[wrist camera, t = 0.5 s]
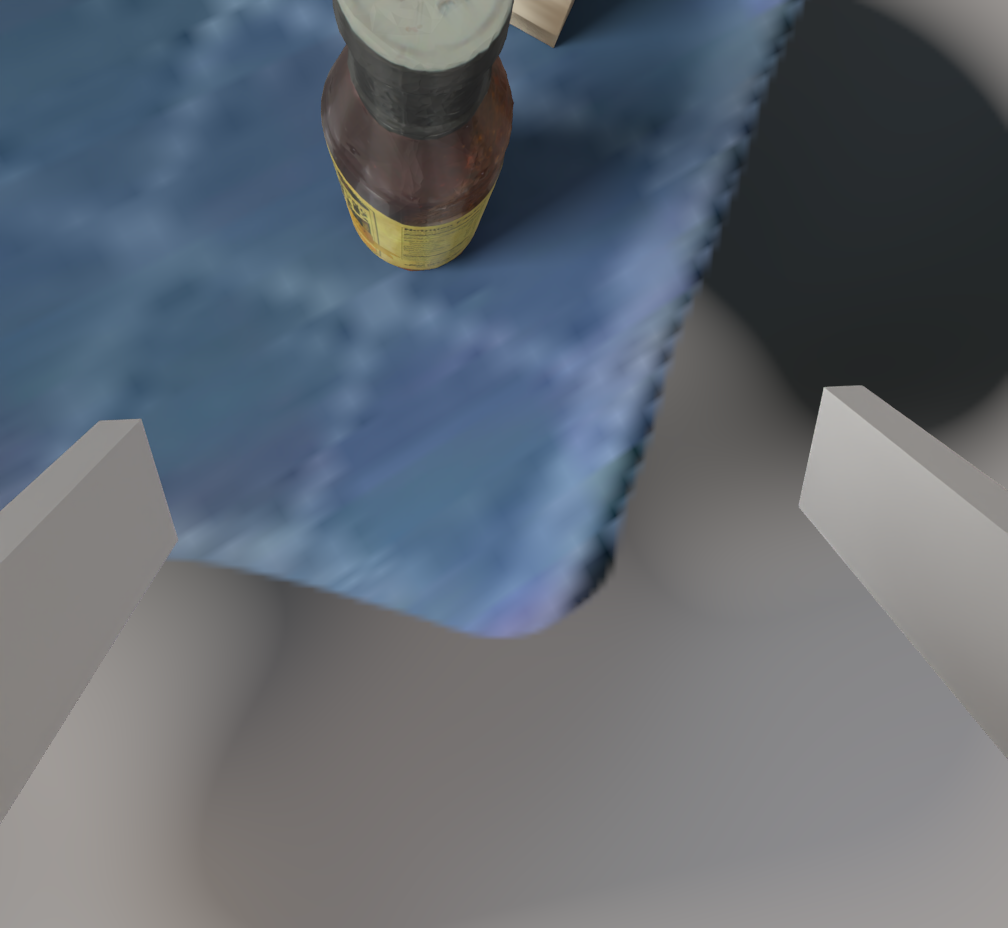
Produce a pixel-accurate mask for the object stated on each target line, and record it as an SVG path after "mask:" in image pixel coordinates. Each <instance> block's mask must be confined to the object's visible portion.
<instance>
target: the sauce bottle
mask: <svg viewBox="0 0 1008 928" xmlns="http://www.w3.org/2000/svg"><path fill="white" fill-rule="evenodd" d="M513 4H514V0H333V9H334V13H335V18H336V22H337V25H338V29H339V32H340V34H341V35H342V37H343V39H344V41H345V42H346V46H345V47H344V49H343V51H342V52H341V54H340V55H339V57H338V59H337V60H336V62H335V63H334V65H333V66H332V68H331V70H330V72H329V74H328V77H327V79H326V81H325V85H324V90H323V94H322V100H321V117H322V126H323V131H324V135H325V139H326V143H327V146H328V149H329V152H330V155H331V158H332V161H333V164H334V167H335V170H336V173H337V176H338V179H339V182H340V185H341V188H342V192H343V194H344V197H345V200H346V203H347V206H348V209H349V212H350V215H351V218H352V221H353V224H354V226H355V229H356V231H357V232H358V234H359V236H360V237H361V239H362V240H363V242H364V243H365V244H366V245H367V246H368V248H369V249H370V250H371V251H373V252H374V253H375V254H376V255H377V256H378V257H380V258H381V259H383V260H384V261H386V262H388V263H390V264H393V265H395V266H398V267H400V268H403V269H406V270H409V271H419V270H426V269H427V270H429V269H432V268H437V267H439V266H441V265H444V264H446V263H448V262H449V261H451V260H453V259H454V258H456V257H457V256H458V255H460V254H461V253H462V252H463V250H464V249H465V248H466V246H467V245H468V244H469V242H470V241H471V239H472V238H473V236H474V233H475V231H476V229H477V227H478V224H479V222H480V220H481V217H482V215H483V213H484V210H485V208H486V205H487V203H488V201H489V198H490V196H491V193H492V191H493V189H494V186H495V184H496V181H497V179H498V176H499V174H500V171H501V168H502V165H503V160H504V154H505V151H506V148H507V147H508V143H509V139H510V134H511V130H512V118H513V104H514V102H513V99H512V95H511V89H510V86H509V83H508V79H507V74H506V71H505V69H504V67H503V65H502V62H501V60H500V58H499V54H500V52H501V50H502V48H503V45H504V42H505V40H506V37H507V31H508V27H509V24H510V19H511V15H512V9H513Z"/></svg>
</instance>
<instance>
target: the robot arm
mask: <svg viewBox="0 0 1008 928" xmlns="http://www.w3.org/2000/svg"><path fill="white" fill-rule="evenodd" d="M799 508H800V509H801V510H802V511H803V513H804V514H805V515H806V516H807V517H808V519H809V520H810V521H811V522H812V523H813V525H814V526H815V527H816V528H817V530H818V531H819V532H820V533H821V534H822V535H823V537H824V538H825V539H826V540H827V542H828V543H829V544H830V545H831V546H832V548H833V549H834V550H835V551H836V553H837V554H838V555H839V556H840V557H841V559H842V560H843V561H844V562H845V563H846V565H847V566H848V567H849V568H850V569H851V571H852V572H853V573H854V574H855V575H856V577H857V578H858V579H859V580H860V581H861V583H862V584H863V585H864V586H865V588H866V589H867V590H868V591H869V592H870V594H871V595H872V596H873V597H874V598H875V600H876V601H877V602H878V603H879V604H880V606H881V607H882V608H883V609H884V611H885V612H886V613H887V614H888V615H889V616H890V618H891V619H892V620H893V621H894V623H895V624H896V625H897V626H898V627H899V629H900V630H901V631H902V632H903V633H904V635H905V636H906V637H907V638H908V640H909V641H910V642H911V643H912V644H913V646H914V647H915V648H916V649H917V650H918V652H919V653H920V654H921V655H922V656H923V657H924V659H925V660H926V661H927V662H928V664H929V665H930V666H931V667H932V669H933V670H934V671H935V672H936V673H937V674H938V676H939V677H940V678H941V679H942V680H943V682H944V683H945V684H946V685H947V687H948V688H949V689H950V690H951V691H952V693H953V694H954V695H955V696H956V698H957V699H958V700H959V701H960V702H961V704H962V705H963V706H964V707H965V708H966V710H967V711H968V712H969V713H970V714H971V716H972V717H973V718H974V719H975V720H976V722H977V723H978V724H979V725H980V726H981V728H982V729H983V730H984V731H985V733H986V734H987V735H988V736H989V737H990V739H991V740H992V741H993V742H994V743H995V744H996V746H997V747H998V748H999V749H1000V751H1001V752H1002V753H1003V754H1004V756H1005V757H1006V758H1007V759H1008V490H1007V489H1005V488H1004V487H1003V486H1001V485H1000V484H999V483H997V482H996V481H994V480H993V479H991V478H990V477H989V476H987V475H986V474H985V473H983V472H982V471H980V470H979V469H978V468H976V467H975V466H974V465H972V464H971V463H969V462H968V461H967V460H965V459H964V458H962V457H961V456H960V455H958V454H957V453H955V452H954V451H952V450H951V449H950V448H948V447H947V446H945V445H944V444H943V443H941V442H940V441H939V440H937V439H936V438H935V437H933V436H932V435H930V434H929V433H928V432H926V431H924V430H923V429H922V428H921V427H919V426H918V425H916V424H915V423H914V422H912V421H911V420H909V419H908V418H907V417H905V416H904V415H903V414H901V413H900V412H898V411H897V410H896V409H894V408H893V407H891V406H890V405H889V404H887V403H886V402H884V401H883V400H882V399H880V398H879V397H877V396H876V395H875V394H873V393H872V392H870V391H869V390H868V389H866V388H865V387H864V386H839V387H824V390H823V395H822V399H821V404H820V409H819V413H818V418H817V422H816V427H815V432H814V436H813V441H812V446H811V450H810V455H809V459H808V465H807V469H806V473H805V478H804V483H803V487H802V492H801V497H800V501H799ZM177 541H178V538H177V534H176V531H175V528H174V525H173V521H172V518H171V515H170V512H169V508H168V505H167V502H166V498H165V495H164V492H163V489H162V485H161V482H160V479H159V476H158V472H157V469H156V466H155V463H154V459H153V456H152V453H151V449H150V446H149V443H148V440H147V436H146V433H145V430H144V427H143V423H142V420H141V419H128V420H106V421H99V422H98V423H97V424H95V425H94V426H93V427H92V428H91V429H90V430H89V431H88V432H87V433H86V434H85V435H83V436H82V437H81V438H80V439H79V440H78V441H77V442H76V443H75V444H74V445H72V446H71V447H70V448H69V449H68V450H67V451H66V452H65V453H64V454H63V455H62V456H60V457H59V458H58V459H57V460H56V461H55V462H54V463H53V464H52V465H51V466H49V467H48V468H47V469H46V470H45V471H44V472H43V473H42V474H41V475H40V476H39V477H37V478H36V479H35V480H34V481H33V482H32V483H31V484H30V485H29V486H28V487H26V488H25V489H24V490H23V491H22V492H21V493H20V494H19V495H18V496H17V497H16V498H14V499H13V500H12V501H11V502H10V503H9V504H8V505H7V506H6V507H5V508H3V509H2V510H1V511H0V824H1V822H2V820H3V819H4V817H5V816H6V814H7V812H8V811H9V809H10V808H11V806H12V804H13V803H14V801H15V800H16V798H17V797H18V795H19V793H20V792H21V790H22V789H23V787H24V785H25V784H26V782H27V781H28V779H29V777H30V776H31V774H32V772H33V771H34V769H35V768H36V766H37V764H38V763H39V761H40V759H41V758H42V757H43V755H44V753H45V752H46V750H47V749H48V747H49V745H50V744H51V742H52V741H53V739H54V737H55V736H56V734H57V732H58V731H59V729H60V728H61V726H62V725H63V723H64V721H65V720H66V718H67V716H68V715H69V713H70V712H71V710H72V709H73V707H74V705H75V704H76V702H77V701H78V699H79V697H80V696H81V694H82V693H83V691H84V689H85V688H86V686H87V685H88V683H89V681H90V680H91V678H92V676H93V675H94V673H95V672H96V670H97V669H98V667H99V665H100V664H101V662H102V661H103V659H104V657H105V656H106V654H107V653H108V651H109V649H110V648H111V646H112V645H113V643H114V642H115V640H116V638H117V637H118V635H119V633H120V632H121V630H122V629H123V627H124V626H125V624H126V622H127V621H128V619H129V618H130V616H131V614H132V612H133V611H134V610H135V608H136V606H137V605H138V603H139V602H140V600H141V598H142V597H143V595H144V594H145V592H146V590H147V589H148V587H149V586H150V584H151V582H152V581H153V579H154V578H155V576H156V574H157V573H158V571H159V570H160V568H161V566H162V565H163V563H164V562H165V560H166V558H167V557H168V555H169V554H170V552H171V550H172V549H173V547H174V546H175V544H176V542H177Z"/></svg>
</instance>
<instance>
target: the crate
mask: <svg viewBox="0 0 1008 928" xmlns="http://www.w3.org/2000/svg"><path fill="white" fill-rule="evenodd" d="M574 1H575V0H514V4H513V9H512V15H511V19H510V24H512V25H514V26H515V27H517V28H519V29H521V30H522V31H524V32H526V33H528V34H530V35H531V36H533V37H535V38H537V39H539V40H540V41H542V42H544V43H546V44H547V45H549V46H551V47H553V48H554V46H555V43H556V41H557V39H558V37H559V35H560V32H561V30H562V28H563V26H564V23H565V21H566V19H567V17H568V15H569V12H570V10H571V8H572V6H573V4H574Z"/></svg>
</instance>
